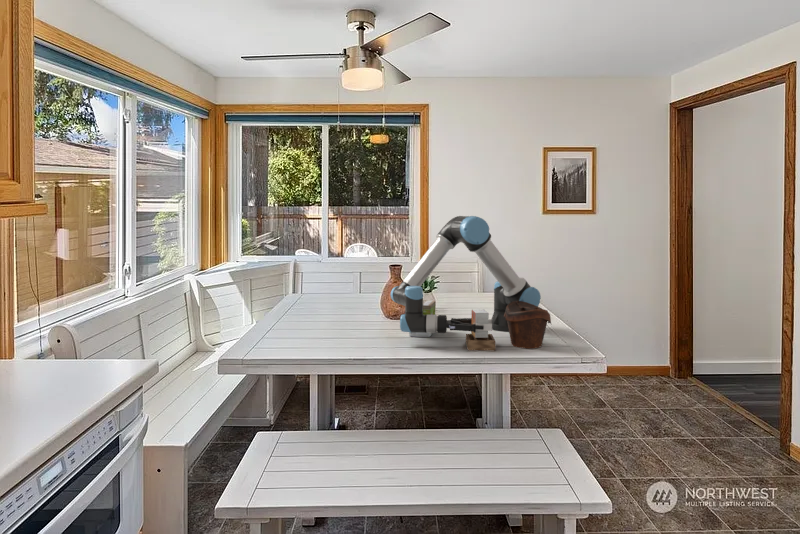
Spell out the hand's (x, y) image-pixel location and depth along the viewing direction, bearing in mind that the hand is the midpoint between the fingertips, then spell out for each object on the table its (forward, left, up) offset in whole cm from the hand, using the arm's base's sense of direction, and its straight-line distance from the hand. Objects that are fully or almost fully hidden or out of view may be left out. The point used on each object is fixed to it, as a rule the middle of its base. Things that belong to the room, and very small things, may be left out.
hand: (491, 324), depth 244 cm
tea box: (+29, -26, -10) cm, 39 cm away
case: (-15, -4, -10) cm, 18 cm away
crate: (+5, -1, -9) cm, 10 cm away
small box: (+5, 0, -5) cm, 7 cm away
